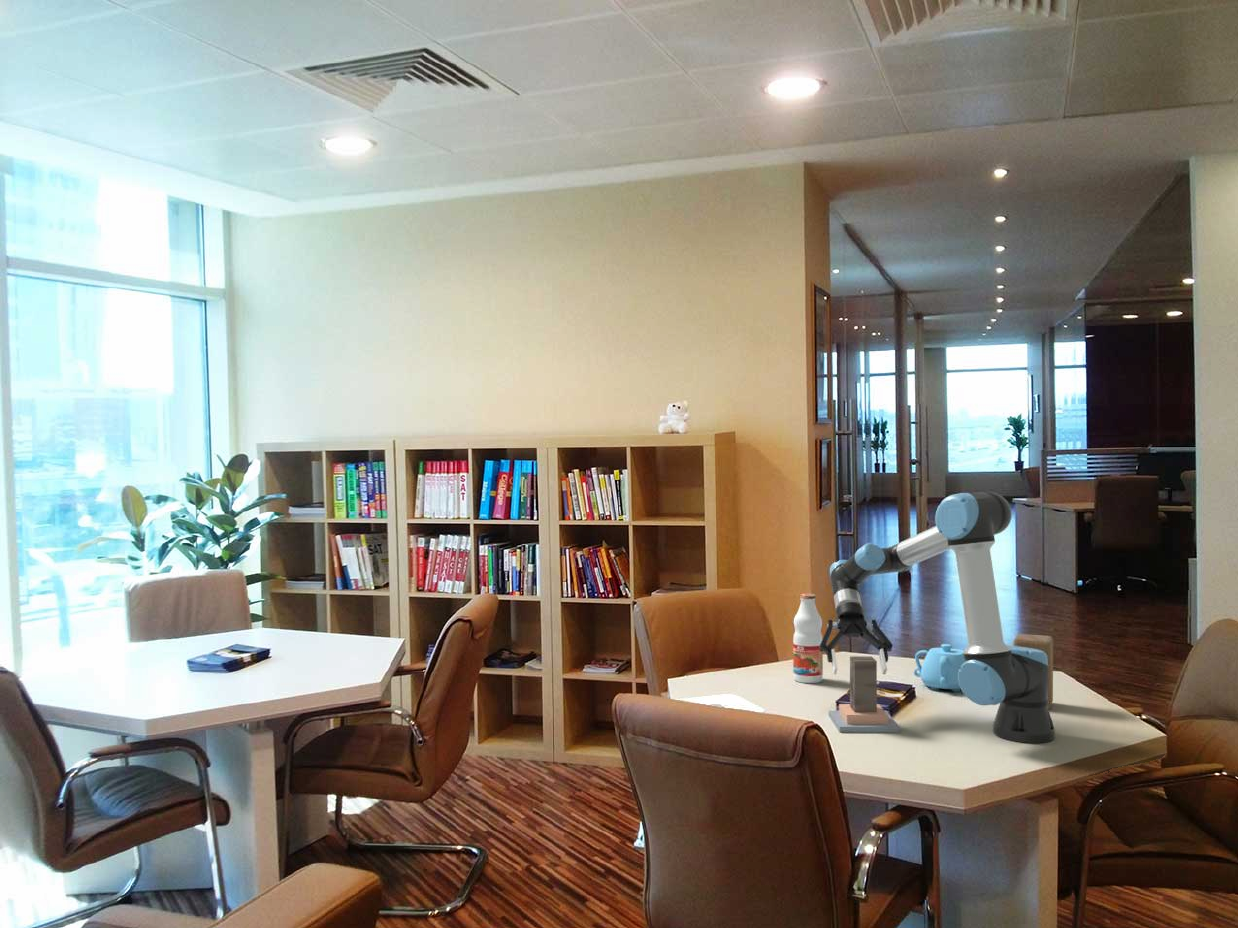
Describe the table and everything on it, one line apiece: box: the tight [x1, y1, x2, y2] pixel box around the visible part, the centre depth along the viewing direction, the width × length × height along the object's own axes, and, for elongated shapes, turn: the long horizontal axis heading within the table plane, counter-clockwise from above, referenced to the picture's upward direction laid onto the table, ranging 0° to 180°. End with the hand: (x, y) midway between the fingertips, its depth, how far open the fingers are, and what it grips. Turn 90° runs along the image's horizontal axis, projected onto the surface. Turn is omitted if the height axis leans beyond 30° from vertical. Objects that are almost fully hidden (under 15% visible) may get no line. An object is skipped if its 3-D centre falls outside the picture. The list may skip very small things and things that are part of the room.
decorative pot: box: [913, 643, 965, 693], centre depth 313 cm, size 16×16×14 cm
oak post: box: [849, 655, 878, 712], centre depth 274 cm, size 6×6×14 cm
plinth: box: [828, 703, 901, 733], centre depth 274 cm, size 16×16×4 cm
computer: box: [676, 693, 766, 713], centre depth 285 cm, size 22×22×3 cm
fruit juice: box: [792, 593, 824, 684], centre depth 324 cm, size 9×9×28 cm
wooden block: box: [1013, 633, 1054, 710], centre depth 292 cm, size 10×10×20 cm
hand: (860, 671), depth 275 cm, fingers open, 13 cm apart
